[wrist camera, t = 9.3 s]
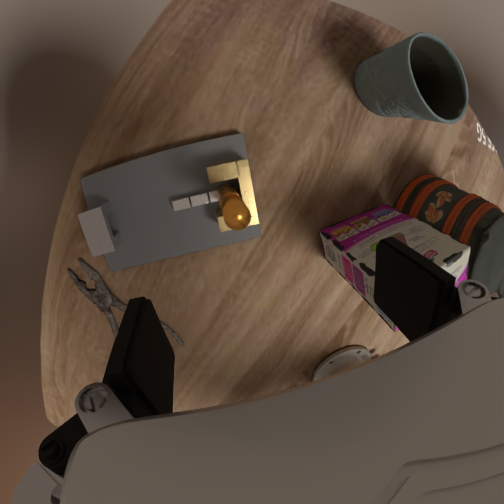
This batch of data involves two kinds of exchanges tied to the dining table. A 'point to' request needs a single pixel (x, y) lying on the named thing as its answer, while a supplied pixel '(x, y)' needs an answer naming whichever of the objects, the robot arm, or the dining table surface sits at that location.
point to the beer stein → (461, 224)
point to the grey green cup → (414, 81)
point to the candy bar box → (379, 227)
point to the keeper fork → (244, 185)
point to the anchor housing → (99, 229)
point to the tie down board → (166, 202)
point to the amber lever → (221, 205)
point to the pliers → (106, 297)
